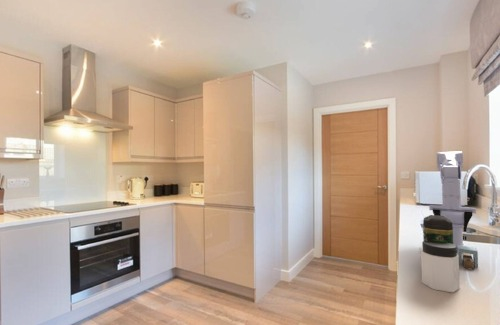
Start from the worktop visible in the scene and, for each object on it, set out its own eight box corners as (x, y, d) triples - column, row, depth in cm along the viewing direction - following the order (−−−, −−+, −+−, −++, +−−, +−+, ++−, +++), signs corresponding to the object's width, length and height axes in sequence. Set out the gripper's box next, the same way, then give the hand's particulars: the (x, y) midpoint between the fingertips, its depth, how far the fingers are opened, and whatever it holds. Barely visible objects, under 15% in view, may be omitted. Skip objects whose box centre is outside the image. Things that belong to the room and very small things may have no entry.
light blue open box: (458, 260, 96) (457, 245, 96) (476, 263, 93) (476, 247, 93) (458, 263, 92) (458, 248, 93) (478, 267, 89) (477, 251, 89)
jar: (451, 295, 69) (449, 250, 69) (417, 284, 76) (416, 243, 76) (463, 287, 74) (462, 244, 74) (431, 277, 80) (430, 238, 81)
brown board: (462, 258, 98) (462, 250, 98) (471, 259, 96) (470, 251, 96) (464, 268, 88) (464, 259, 88) (473, 269, 87) (473, 260, 87)
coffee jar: (423, 266, 90) (422, 212, 91) (452, 271, 86) (450, 214, 86) (424, 275, 82) (423, 217, 82) (456, 281, 77) (454, 219, 78)
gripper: (428, 195, 104) (429, 229, 103) (476, 197, 95) (477, 234, 95) (429, 194, 110) (430, 226, 109) (474, 195, 101) (475, 230, 100)
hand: (452, 229), depth 102 cm, fingers open, 7 cm apart
